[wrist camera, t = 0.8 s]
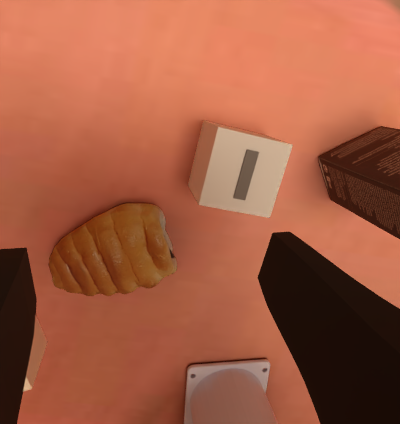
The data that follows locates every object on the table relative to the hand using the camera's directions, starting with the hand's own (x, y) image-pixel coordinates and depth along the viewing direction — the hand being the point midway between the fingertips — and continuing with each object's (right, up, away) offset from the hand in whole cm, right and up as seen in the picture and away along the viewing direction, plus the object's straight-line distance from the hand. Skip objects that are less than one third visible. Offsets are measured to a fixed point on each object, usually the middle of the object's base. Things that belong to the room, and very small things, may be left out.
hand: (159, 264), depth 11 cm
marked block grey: (+3, +6, +16) cm, 18 cm away
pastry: (-5, -1, +18) cm, 18 cm away
